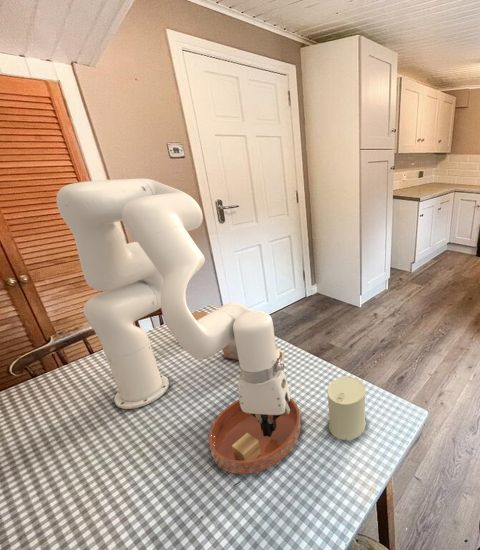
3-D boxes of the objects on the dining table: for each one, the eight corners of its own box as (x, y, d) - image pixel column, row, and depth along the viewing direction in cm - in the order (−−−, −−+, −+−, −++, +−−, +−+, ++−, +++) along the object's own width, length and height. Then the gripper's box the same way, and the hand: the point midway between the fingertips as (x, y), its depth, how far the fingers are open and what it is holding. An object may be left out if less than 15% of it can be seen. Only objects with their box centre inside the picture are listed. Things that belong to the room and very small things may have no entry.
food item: (219, 359, 100) (213, 334, 96) (235, 346, 107) (231, 321, 104) (254, 367, 96) (250, 341, 93) (268, 353, 104) (265, 328, 100)
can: (322, 434, 73) (319, 396, 69) (339, 407, 81) (337, 371, 77) (356, 447, 70) (356, 407, 66) (371, 417, 78) (371, 380, 74)
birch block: (234, 458, 67) (231, 445, 65) (249, 445, 70) (247, 432, 69) (246, 468, 65) (243, 454, 63) (261, 453, 68) (258, 440, 67)
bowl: (201, 431, 74) (198, 419, 73) (278, 392, 86) (276, 381, 85) (229, 496, 60) (226, 483, 59) (316, 438, 72) (315, 426, 71)
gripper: (299, 358, 67) (305, 420, 74) (234, 355, 68) (245, 416, 75) (288, 382, 60) (296, 448, 67) (216, 378, 61) (231, 443, 68)
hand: (269, 431), depth 71 cm, fingers closed
